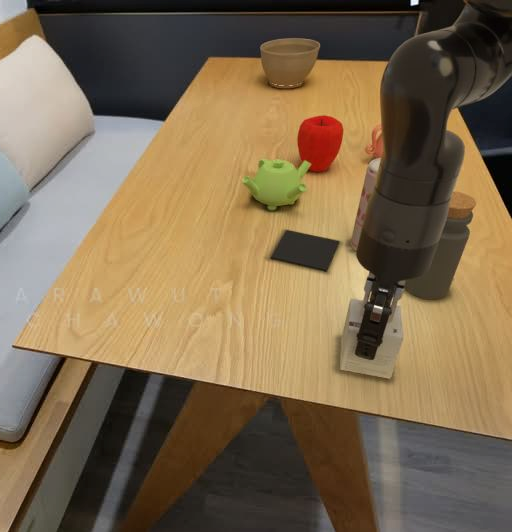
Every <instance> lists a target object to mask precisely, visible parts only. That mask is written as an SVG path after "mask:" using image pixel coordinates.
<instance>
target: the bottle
mask: <svg viewBox="0 0 512 532" xmlns="http://www.w3.org/2000/svg"><path fill="white" fill-rule="evenodd" d="M476 205H477V201H476V199H475V198H474V197H473V196H471V195H469V194H466V193H464V192H459V191H453V193H452V196H451V200H450V205H449V211H448V216H447V219H446V222H445V225H444V228H443V231H442V234H441V237H440V240H439V243H438V246H437V249H436V252H435V254H434V257H433V260H432V263H431V266H430V269H429V270H428V272H427V273H425V274H424V275H423V276H421V277H419V278H416V279H411V280H406V282H405V284H404V285H405V288H404V289H406V290H407V291H408V292H409V293H410V294H411V295H413V296H416V297H418V298H421V299H426V300H439V299H443V298H444V297H445V296H447V295H448V293H449V291H450V288H451V285H452V283H453V280H454V277H455V274H456V272H457V269H458V267H459V264H460V261H461V260H462V256H463V255H464V252H465V249H466V246H467V243H468V241H469V237H470V235H471V230H470V229H469V225H470V224H471V223H472V220H473V218H474V212H473V210H474V208H475V207H476Z"/></svg>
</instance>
